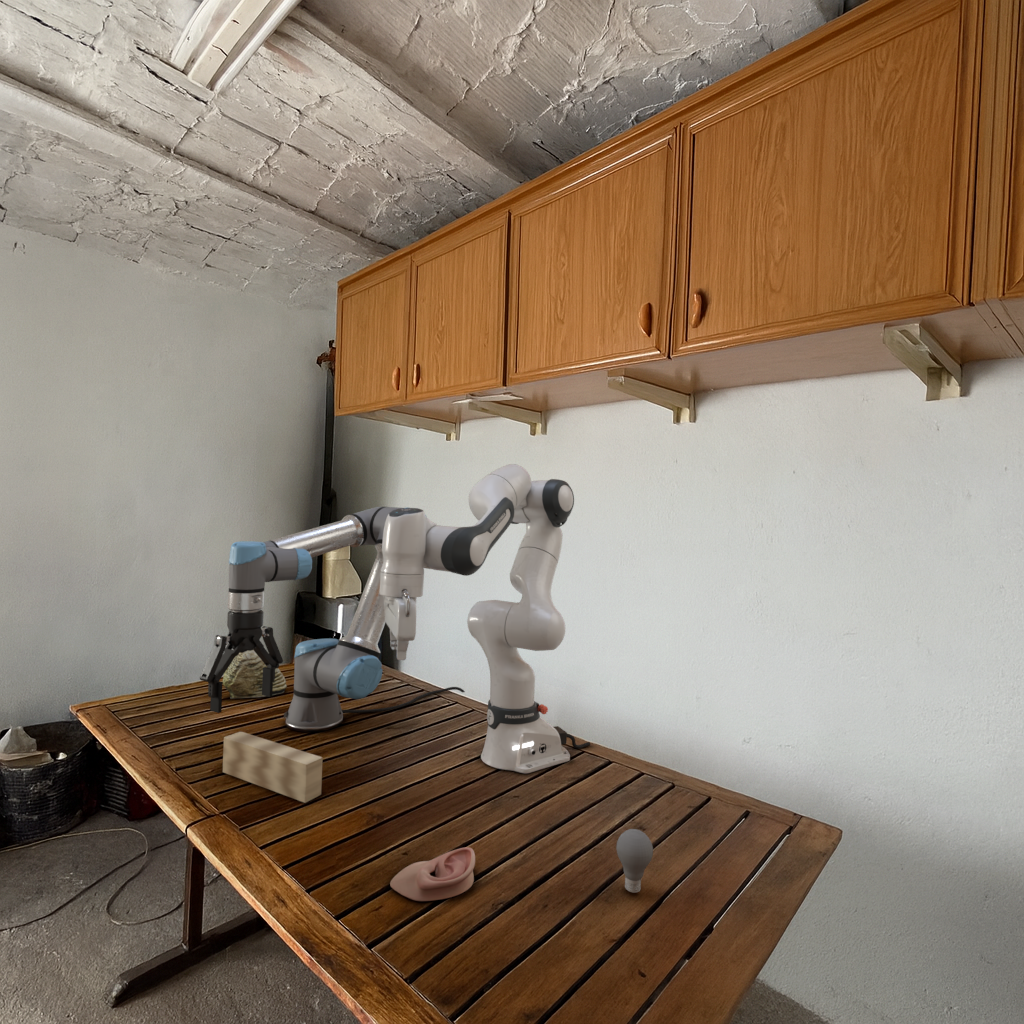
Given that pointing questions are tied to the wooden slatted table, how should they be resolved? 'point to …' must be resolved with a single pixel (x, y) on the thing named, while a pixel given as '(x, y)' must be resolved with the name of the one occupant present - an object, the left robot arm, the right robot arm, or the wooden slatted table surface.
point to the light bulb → (634, 857)
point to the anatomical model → (437, 876)
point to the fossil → (249, 677)
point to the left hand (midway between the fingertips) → (242, 703)
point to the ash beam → (273, 766)
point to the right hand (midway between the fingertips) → (397, 654)
